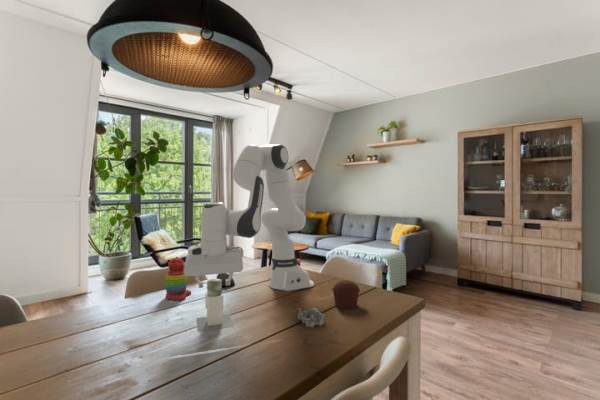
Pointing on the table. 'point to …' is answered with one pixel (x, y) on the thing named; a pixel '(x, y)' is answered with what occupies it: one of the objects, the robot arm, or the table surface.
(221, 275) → the stone
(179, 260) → the stacking bear
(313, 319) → the grey jagged lump
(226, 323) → the coaster
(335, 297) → the muffin
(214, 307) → the tower top
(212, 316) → the tower bottom
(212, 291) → the drum
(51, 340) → the table surface
